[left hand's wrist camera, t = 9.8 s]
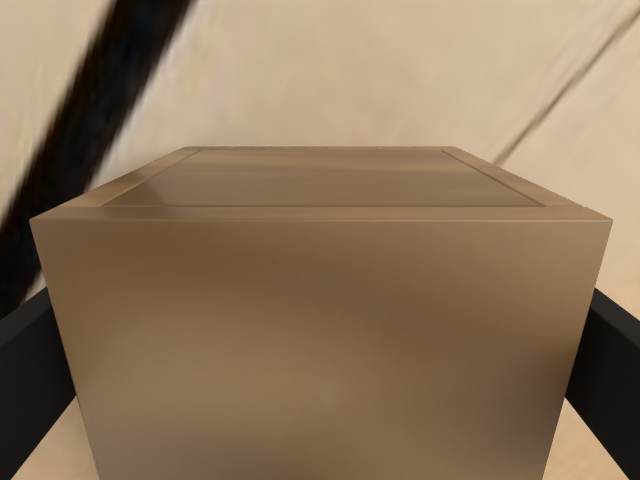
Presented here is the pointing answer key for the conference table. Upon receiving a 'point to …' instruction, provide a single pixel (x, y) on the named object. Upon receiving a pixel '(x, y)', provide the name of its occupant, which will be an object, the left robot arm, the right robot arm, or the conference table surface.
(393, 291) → the cabinet
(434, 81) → the conference table surface
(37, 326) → the left robot arm
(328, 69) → the conference table surface
